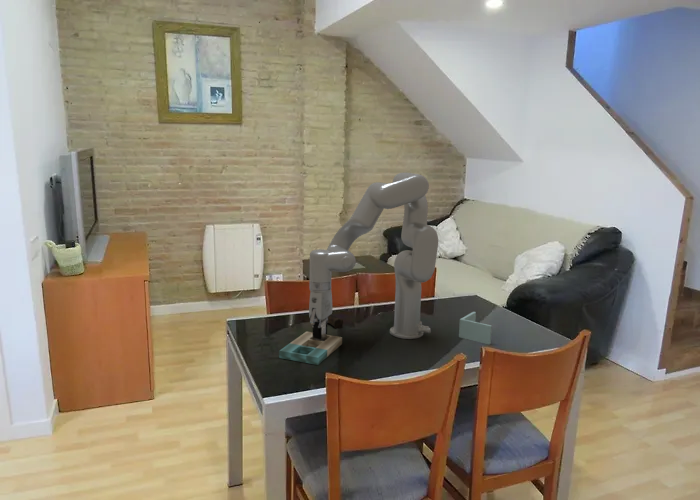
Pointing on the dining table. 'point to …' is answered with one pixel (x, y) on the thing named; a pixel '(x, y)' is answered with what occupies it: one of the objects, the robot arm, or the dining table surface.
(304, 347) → the hole board
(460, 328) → the right angle wall
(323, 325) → the peg
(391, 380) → the dining table surface
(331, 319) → the hand tool
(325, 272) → the robot arm
